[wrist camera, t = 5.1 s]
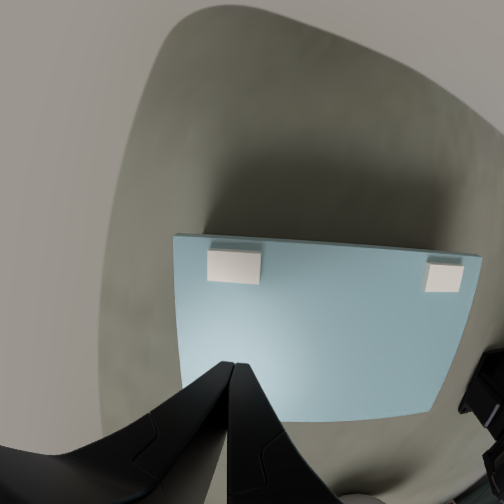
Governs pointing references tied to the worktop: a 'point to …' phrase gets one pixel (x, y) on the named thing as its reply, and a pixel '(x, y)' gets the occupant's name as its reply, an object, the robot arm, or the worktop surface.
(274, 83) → the worktop surface
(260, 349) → the cover
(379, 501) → the donut
